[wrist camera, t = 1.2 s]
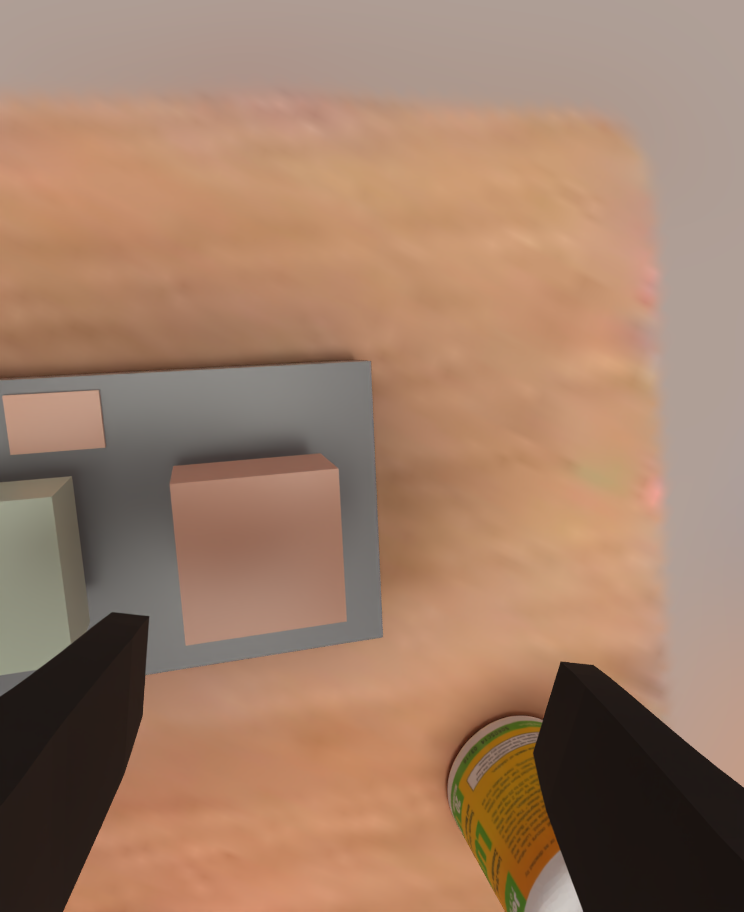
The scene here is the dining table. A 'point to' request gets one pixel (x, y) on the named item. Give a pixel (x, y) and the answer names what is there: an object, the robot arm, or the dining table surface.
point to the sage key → (39, 573)
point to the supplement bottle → (510, 818)
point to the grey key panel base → (183, 443)
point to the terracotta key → (258, 546)
